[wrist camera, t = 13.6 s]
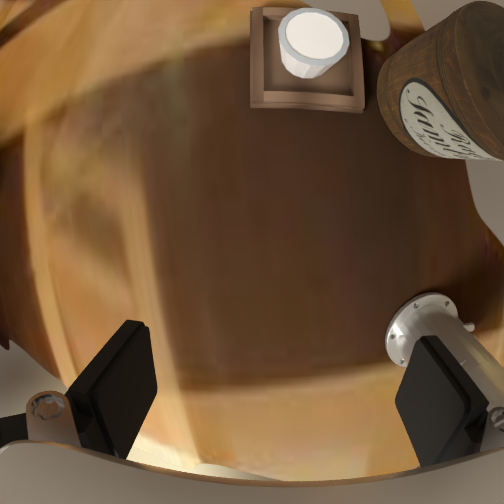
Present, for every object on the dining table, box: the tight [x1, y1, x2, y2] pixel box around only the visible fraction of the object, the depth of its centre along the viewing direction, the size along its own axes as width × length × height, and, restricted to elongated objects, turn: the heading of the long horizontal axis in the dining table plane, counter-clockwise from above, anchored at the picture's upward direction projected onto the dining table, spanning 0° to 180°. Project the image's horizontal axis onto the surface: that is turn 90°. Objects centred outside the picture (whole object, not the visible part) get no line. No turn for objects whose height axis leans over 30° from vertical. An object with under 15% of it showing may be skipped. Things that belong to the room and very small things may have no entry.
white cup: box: [278, 8, 349, 78], centre depth 26 cm, size 7×7×7 cm
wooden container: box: [377, 1, 504, 161], centre depth 20 cm, size 15×15×22 cm
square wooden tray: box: [250, 7, 365, 114], centre depth 29 cm, size 13×13×2 cm
